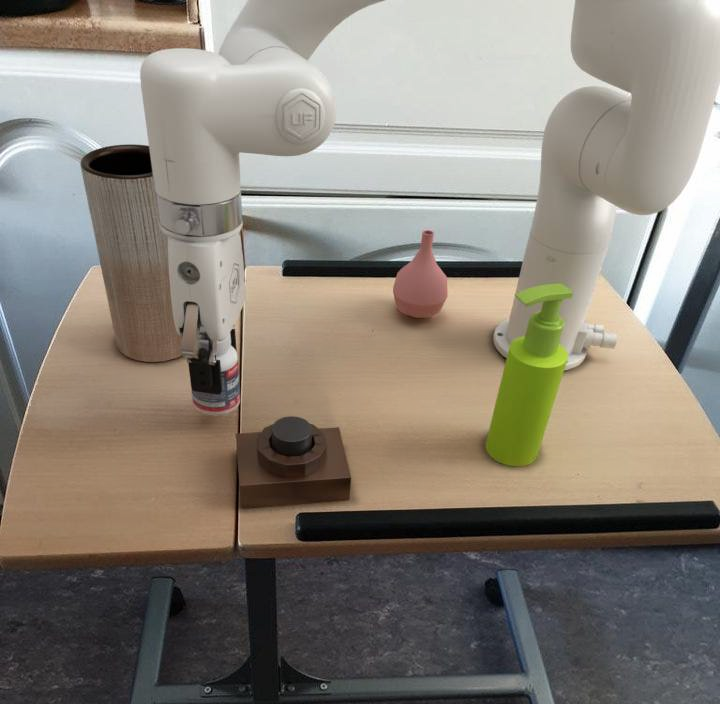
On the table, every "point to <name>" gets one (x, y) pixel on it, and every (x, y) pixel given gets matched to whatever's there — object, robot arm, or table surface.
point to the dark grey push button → (291, 436)
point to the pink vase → (421, 283)
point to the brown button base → (292, 470)
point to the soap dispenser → (529, 380)
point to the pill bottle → (230, 382)
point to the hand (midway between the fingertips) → (214, 373)
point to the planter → (131, 250)
